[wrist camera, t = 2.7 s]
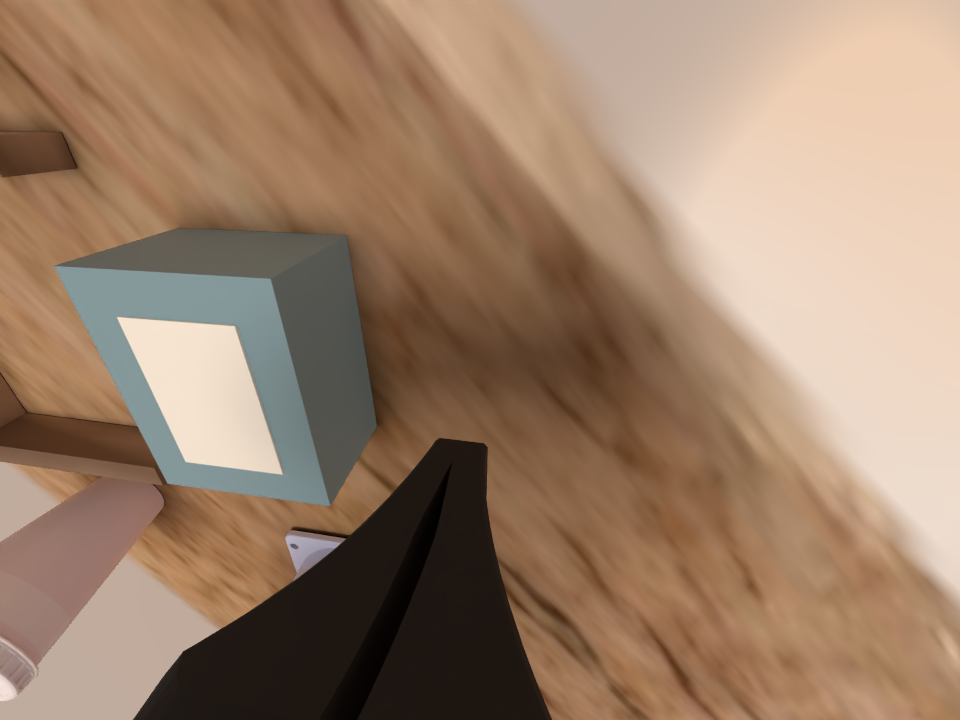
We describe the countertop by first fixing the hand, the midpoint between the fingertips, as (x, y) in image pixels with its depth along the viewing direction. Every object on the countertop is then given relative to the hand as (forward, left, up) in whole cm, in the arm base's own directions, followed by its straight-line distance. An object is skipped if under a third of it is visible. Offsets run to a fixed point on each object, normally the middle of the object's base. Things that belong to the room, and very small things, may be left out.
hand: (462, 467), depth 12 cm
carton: (0, +9, -7) cm, 11 cm away
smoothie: (-12, +22, -7) cm, 26 cm away
